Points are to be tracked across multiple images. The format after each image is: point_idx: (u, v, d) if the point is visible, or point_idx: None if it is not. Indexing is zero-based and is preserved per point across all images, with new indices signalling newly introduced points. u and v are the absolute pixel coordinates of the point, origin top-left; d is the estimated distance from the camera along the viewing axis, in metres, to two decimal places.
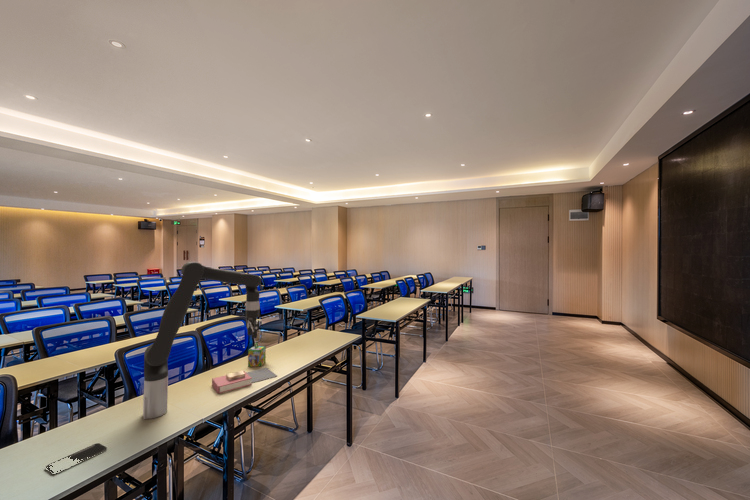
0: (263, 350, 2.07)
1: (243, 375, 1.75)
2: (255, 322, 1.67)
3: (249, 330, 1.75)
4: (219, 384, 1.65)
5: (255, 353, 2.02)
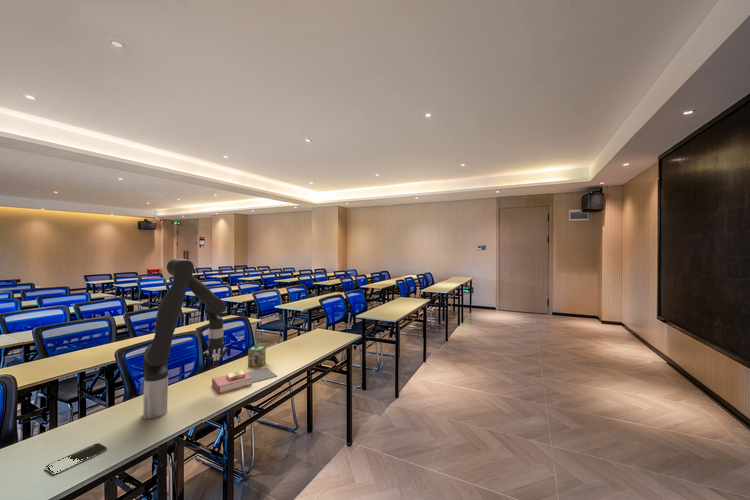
0: (263, 350, 2.08)
1: (243, 375, 1.75)
2: None
3: None
4: (219, 384, 1.65)
5: (255, 353, 2.02)
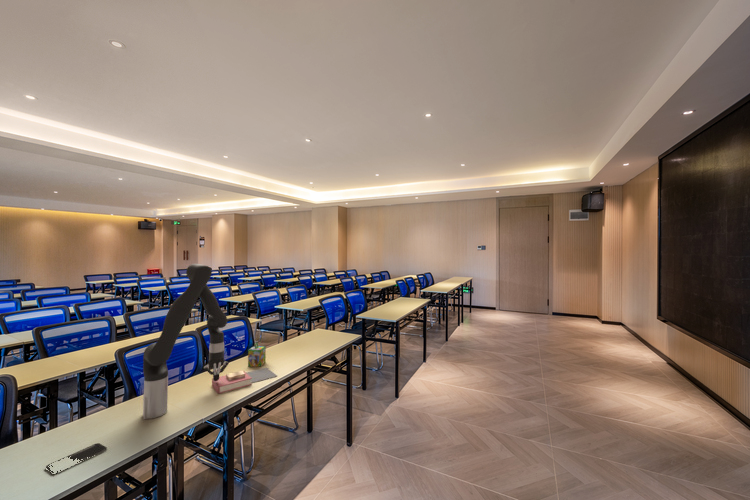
0: (263, 350, 2.08)
1: (243, 375, 1.75)
2: (227, 364, 1.71)
3: None
4: (219, 384, 1.65)
5: (255, 353, 2.02)
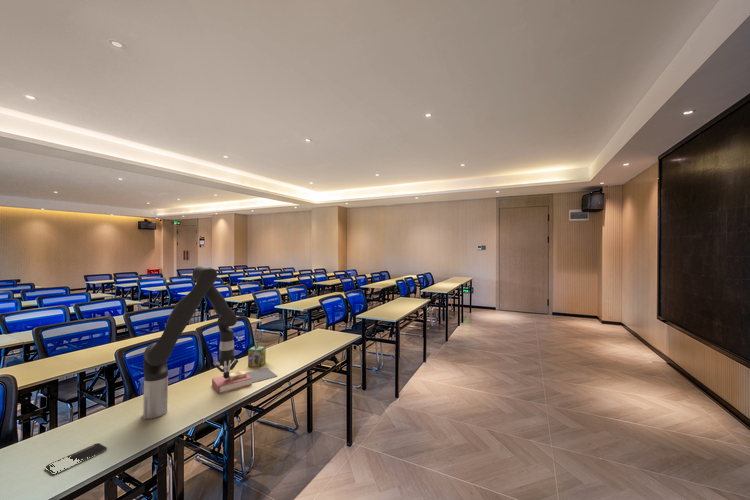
0: (263, 350, 2.08)
1: (245, 375, 1.75)
2: None
3: None
4: (219, 384, 1.65)
5: (255, 353, 2.02)
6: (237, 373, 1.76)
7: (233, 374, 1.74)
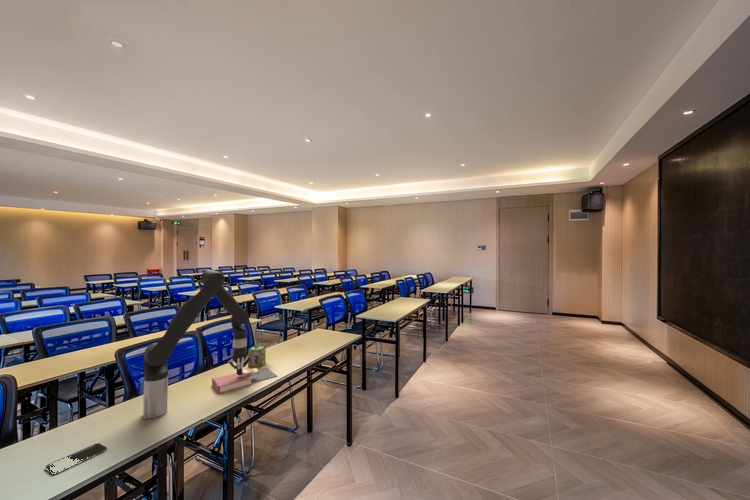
0: (263, 350, 2.08)
1: (257, 373, 1.80)
2: None
3: None
4: (219, 384, 1.65)
5: (255, 353, 2.02)
6: (250, 370, 1.80)
7: (246, 371, 1.79)
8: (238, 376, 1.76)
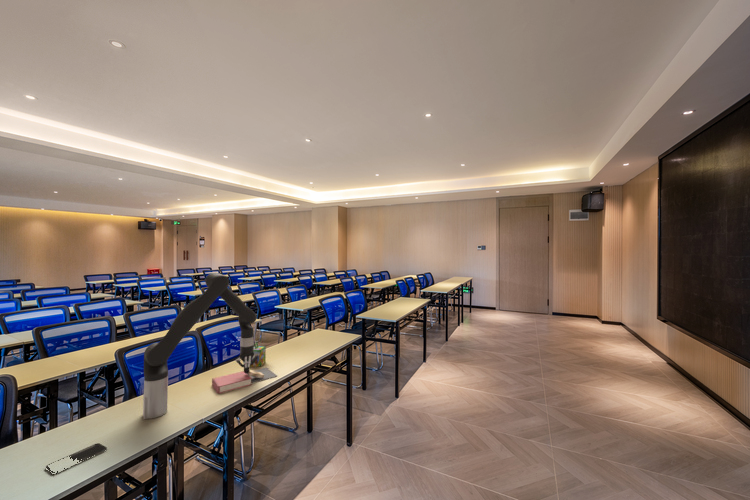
0: (263, 350, 2.08)
1: (262, 376, 1.82)
2: None
3: None
4: (219, 384, 1.65)
5: (255, 353, 2.02)
6: (256, 372, 1.82)
7: (253, 371, 1.81)
8: (238, 376, 1.76)
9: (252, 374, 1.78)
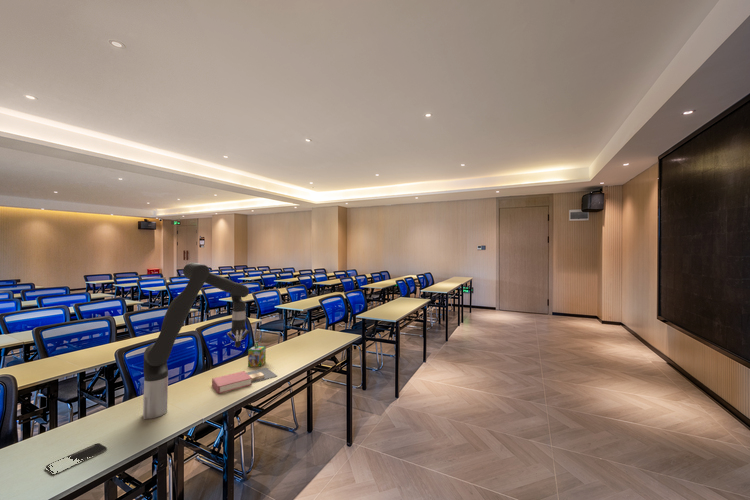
0: (263, 350, 2.07)
1: (262, 377, 1.82)
2: (248, 332, 1.82)
3: None
4: (219, 384, 1.65)
5: (255, 353, 2.02)
6: (255, 375, 1.82)
7: (252, 376, 1.81)
8: (238, 376, 1.76)
9: (251, 379, 1.78)
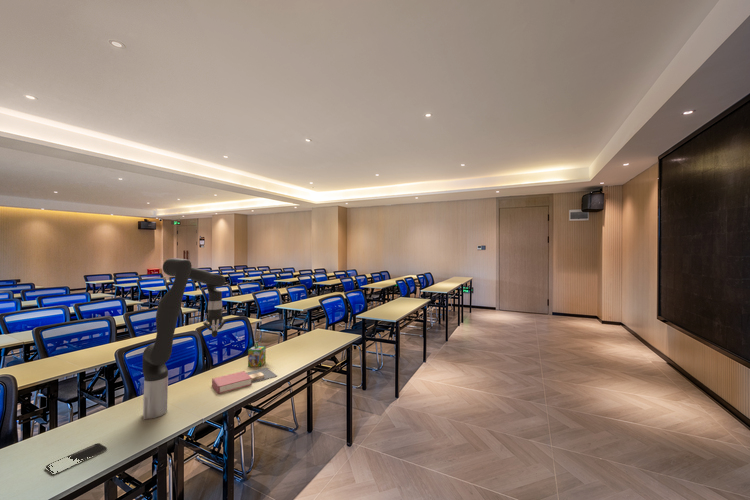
0: (263, 350, 2.07)
1: (262, 377, 1.82)
2: None
3: None
4: (219, 384, 1.65)
5: (255, 353, 2.02)
6: (255, 375, 1.82)
7: (252, 376, 1.81)
8: (238, 376, 1.76)
9: (251, 379, 1.78)
